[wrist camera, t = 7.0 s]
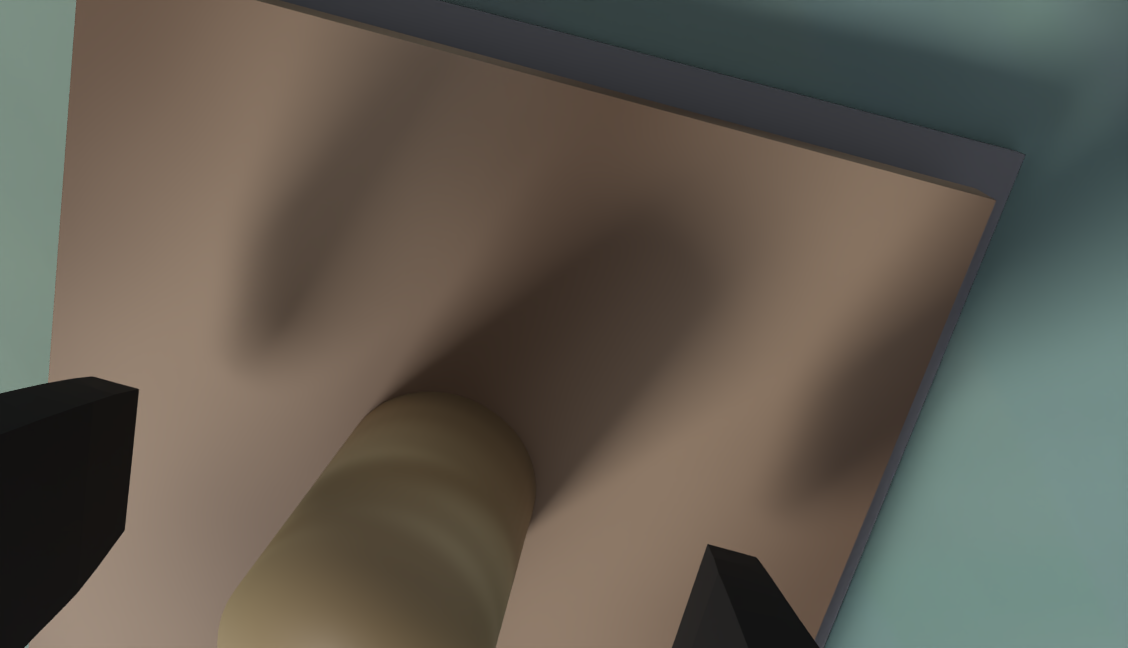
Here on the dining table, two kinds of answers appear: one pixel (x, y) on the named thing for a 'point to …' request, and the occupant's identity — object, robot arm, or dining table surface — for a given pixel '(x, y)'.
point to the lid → (467, 338)
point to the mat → (418, 11)
